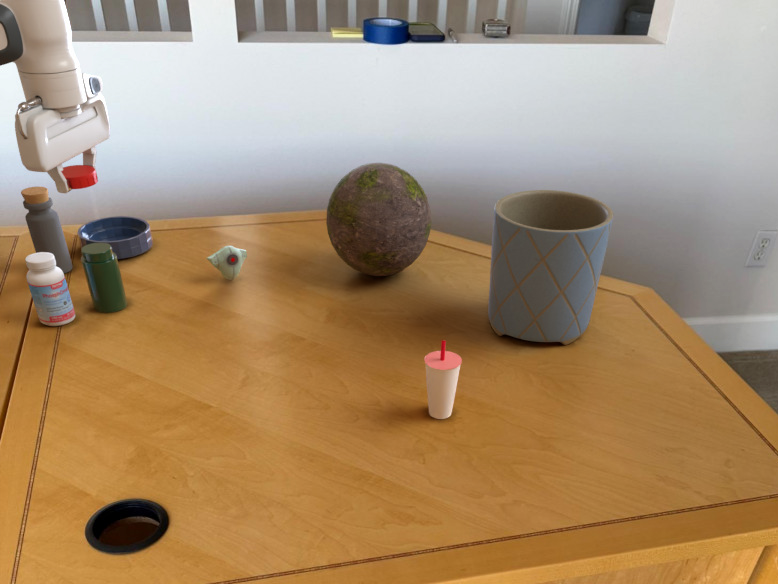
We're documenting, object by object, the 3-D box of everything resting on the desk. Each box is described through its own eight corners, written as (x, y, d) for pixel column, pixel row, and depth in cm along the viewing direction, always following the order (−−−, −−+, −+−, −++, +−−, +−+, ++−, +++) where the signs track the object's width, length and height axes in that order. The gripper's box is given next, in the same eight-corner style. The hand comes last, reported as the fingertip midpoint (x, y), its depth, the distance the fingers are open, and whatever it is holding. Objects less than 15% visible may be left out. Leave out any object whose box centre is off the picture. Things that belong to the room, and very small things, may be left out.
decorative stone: (395, 244, 164) (396, 142, 150) (449, 279, 151) (455, 171, 138) (311, 264, 156) (304, 158, 142) (360, 302, 143) (357, 190, 130)
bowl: (67, 254, 158) (62, 234, 155) (113, 230, 168) (109, 212, 165) (123, 266, 154) (118, 247, 151) (167, 242, 163) (163, 222, 161)
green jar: (86, 309, 140) (70, 251, 133) (107, 295, 144) (93, 239, 137) (114, 315, 138) (99, 257, 131) (134, 301, 142) (121, 244, 135)
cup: (431, 399, 119) (435, 328, 111) (463, 408, 117) (469, 336, 109) (416, 416, 115) (418, 343, 107) (448, 426, 113) (453, 353, 105)
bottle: (79, 267, 153) (57, 189, 143) (55, 278, 150) (31, 198, 139) (59, 260, 156) (36, 183, 145) (35, 271, 152) (10, 191, 142)
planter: (474, 341, 133) (484, 223, 119) (494, 294, 146) (505, 184, 133) (586, 357, 129) (609, 237, 116) (595, 308, 143) (617, 196, 129)
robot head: (247, 272, 153) (243, 238, 148) (255, 279, 150) (251, 245, 146) (208, 280, 150) (203, 246, 145) (216, 288, 147) (211, 253, 142)
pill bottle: (56, 330, 134) (36, 267, 126) (32, 321, 136) (12, 259, 129) (83, 317, 138) (66, 255, 130) (60, 308, 140) (42, 247, 132)
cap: (103, 176, 129) (100, 165, 128) (89, 189, 124) (86, 178, 123) (66, 175, 129) (63, 164, 128) (51, 188, 125) (47, 177, 123)
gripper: (32, 108, 110) (59, 207, 119) (107, 76, 124) (126, 167, 134) (-7, 104, 111) (23, 203, 120) (72, 73, 125) (93, 163, 135)
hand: (78, 184), depth 127 cm, fingers closed on cap, 6 cm apart
